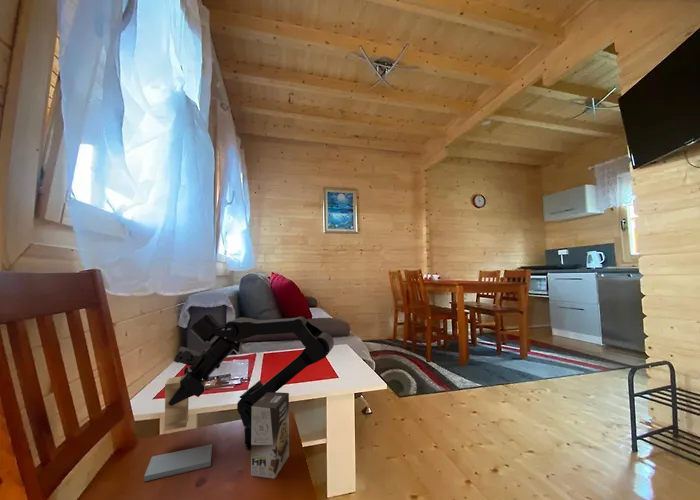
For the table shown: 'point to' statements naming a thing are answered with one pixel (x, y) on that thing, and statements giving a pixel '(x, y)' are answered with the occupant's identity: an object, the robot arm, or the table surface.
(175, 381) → the block
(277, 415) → the coffee box
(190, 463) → the slate board
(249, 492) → the table surface
